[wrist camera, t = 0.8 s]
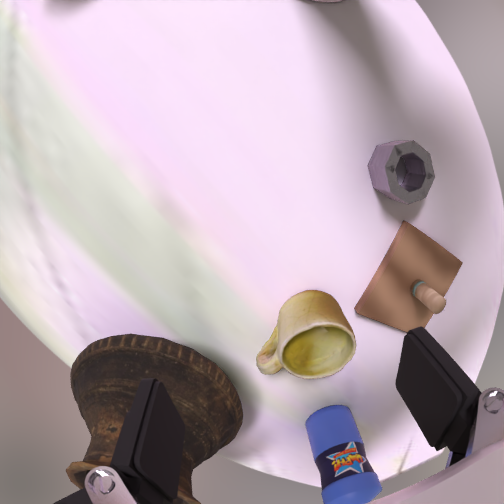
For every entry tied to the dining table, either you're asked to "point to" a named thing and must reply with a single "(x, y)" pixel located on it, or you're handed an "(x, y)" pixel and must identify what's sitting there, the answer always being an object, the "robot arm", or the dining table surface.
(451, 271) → the post block
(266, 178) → the dining table surface
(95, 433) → the ceramic pot
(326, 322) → the mug
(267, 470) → the dining table surface
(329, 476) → the water bottle
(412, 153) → the collar
